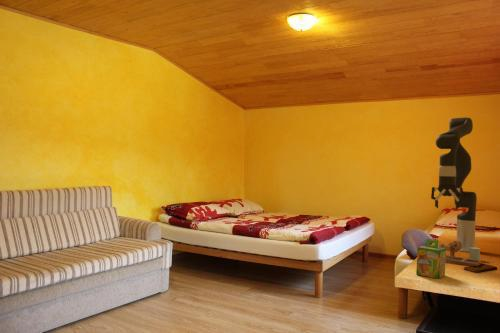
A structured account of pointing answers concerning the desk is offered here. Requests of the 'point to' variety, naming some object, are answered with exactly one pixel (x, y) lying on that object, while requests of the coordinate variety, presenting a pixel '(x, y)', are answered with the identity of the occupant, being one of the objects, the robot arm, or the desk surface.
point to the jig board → (462, 261)
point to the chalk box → (431, 260)
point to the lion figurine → (452, 246)
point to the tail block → (474, 253)
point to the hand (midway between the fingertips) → (446, 208)
